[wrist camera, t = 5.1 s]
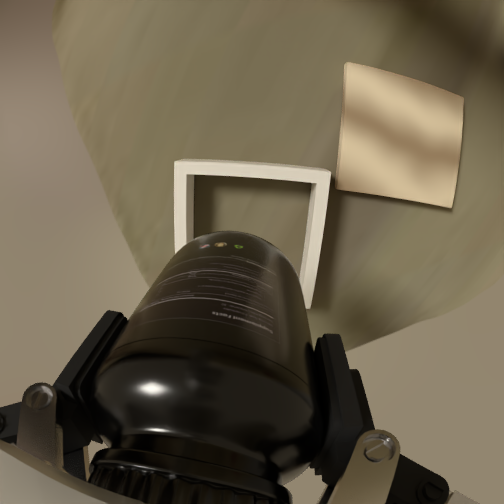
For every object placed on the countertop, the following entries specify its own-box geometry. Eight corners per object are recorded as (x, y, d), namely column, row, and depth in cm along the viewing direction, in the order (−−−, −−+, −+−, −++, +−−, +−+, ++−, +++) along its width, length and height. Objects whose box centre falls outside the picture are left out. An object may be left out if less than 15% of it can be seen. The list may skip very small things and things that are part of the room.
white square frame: (183, 159, 24) (174, 161, 21) (325, 168, 23) (331, 172, 21) (184, 284, 28) (177, 296, 26) (307, 294, 28) (310, 308, 26)
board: (344, 64, 20) (347, 61, 19) (457, 98, 19) (463, 97, 18) (334, 187, 24) (337, 189, 23) (446, 205, 24) (451, 208, 23)
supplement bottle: (299, 343, 16) (312, 564, 5) (178, 340, 16) (109, 536, 5) (304, 223, 13) (384, 535, 2) (157, 226, 13) (-27, 441, 2)
